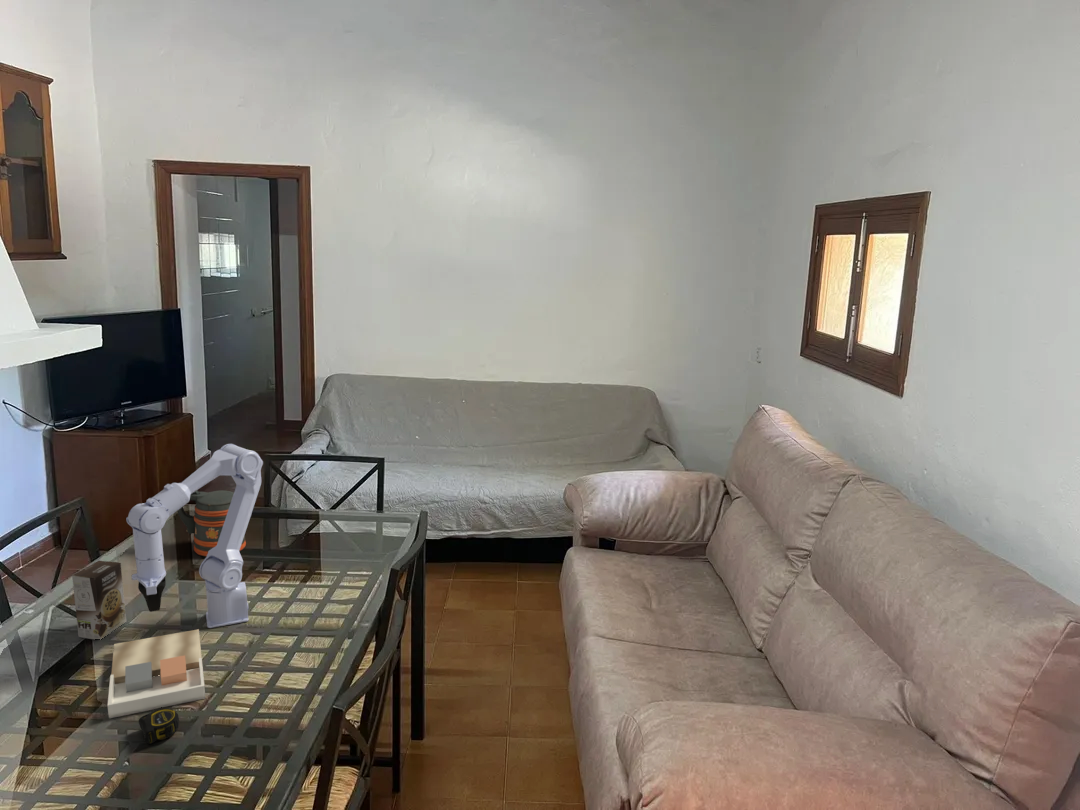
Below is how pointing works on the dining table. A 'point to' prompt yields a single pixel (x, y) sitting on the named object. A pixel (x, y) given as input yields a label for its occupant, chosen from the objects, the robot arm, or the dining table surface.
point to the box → (155, 694)
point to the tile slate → (138, 677)
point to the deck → (156, 652)
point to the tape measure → (159, 724)
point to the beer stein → (207, 519)
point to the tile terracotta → (173, 670)
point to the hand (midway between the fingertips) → (154, 609)
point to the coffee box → (99, 599)
